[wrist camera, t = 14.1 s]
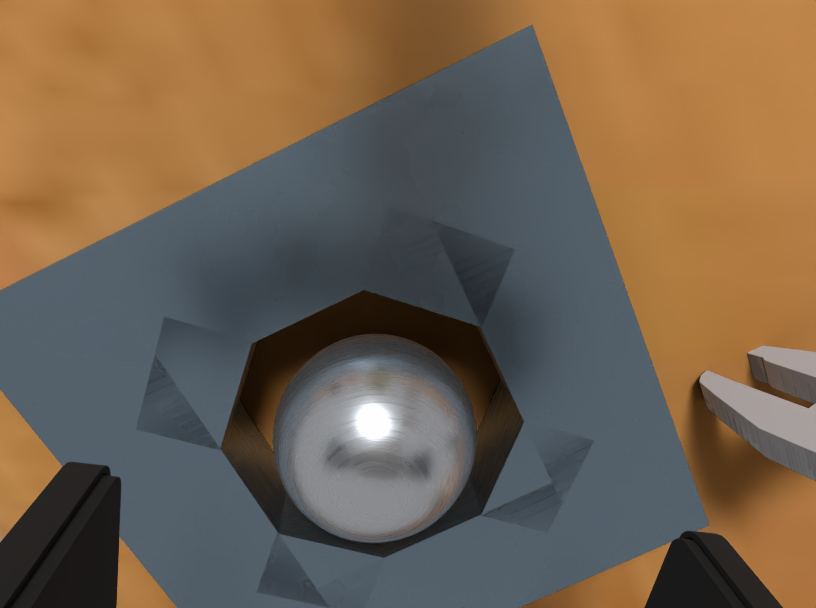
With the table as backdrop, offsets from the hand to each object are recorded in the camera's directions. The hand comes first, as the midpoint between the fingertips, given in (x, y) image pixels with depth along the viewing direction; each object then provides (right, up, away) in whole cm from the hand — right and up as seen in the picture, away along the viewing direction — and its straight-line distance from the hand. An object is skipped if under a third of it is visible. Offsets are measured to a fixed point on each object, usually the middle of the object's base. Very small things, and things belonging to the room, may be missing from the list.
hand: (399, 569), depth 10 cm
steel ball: (-1, +1, +5) cm, 5 cm away
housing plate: (-1, +2, +7) cm, 7 cm away
